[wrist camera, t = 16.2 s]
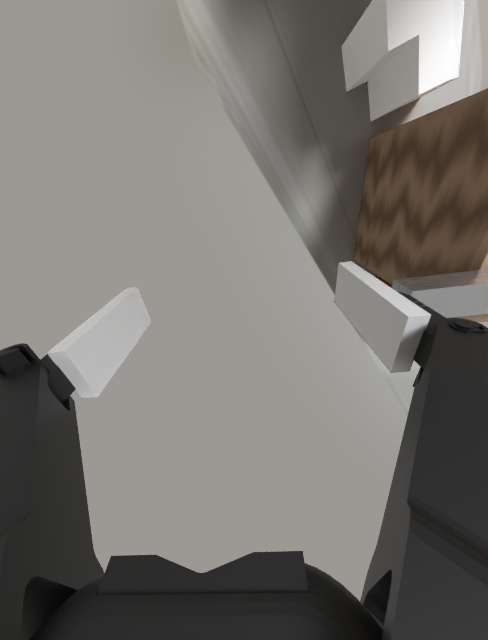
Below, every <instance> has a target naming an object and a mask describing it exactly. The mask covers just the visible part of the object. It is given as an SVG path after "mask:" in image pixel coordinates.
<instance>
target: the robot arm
mask: <svg viewBox="0 0 488 640" xmlns="http://www.w3.org/2000/svg"><path fill="white" fill-rule="evenodd" d="M334 302H335V303H336V305H337V306H338V307H339V309H340V310H341V311H342V312H343V314H344V315H345V316H346V317H347V319H348V320H349V321H350V322H351V324H352V325H353V326H354V327H355V329H356V330H357V331H358V333H359V334H360V335H361V336H362V338H363V339H364V340H365V341H366V343H367V344H368V345H369V346H370V348H371V349H372V350H373V351H374V353H375V354H376V355H377V356H378V358H379V359H380V360H381V361H382V363H383V364H384V365H385V366H386V368H387V369H388V370H389V371H390V373H393V372H405V371H410V369H411V366H412V363H413V361H414V360H415V361H416V362H417V363H418V364H419V365H420V366H421V367H420V370H419V372H418V375H417V377H416V379H415V382H414V384H413V387H415V388H414V392H413V396H412V401H411V405H410V409H409V413H408V417H407V422H406V426H405V430H404V435H403V438H402V443H401V447H400V451H399V455H398V459H397V463H396V467H395V472H394V476H393V480H392V484H391V488H390V492H389V497H388V501H387V505H386V509H385V513H384V518H383V522H382V526H381V530H380V534H379V539H378V543H377V546H376V549H375V552H374V555H373V558H372V560H371V563H370V566H369V570H368V573H367V577H366V581H365V585H364V589H363V592H362V597H361V601H359V600H358V599H357V598H356V597H355V596H354V595H353V594H352V593H351V592H349V591H348V590H347V589H346V588H345V587H344V586H343V585H342V584H341V583H339V582H338V581H336V580H335V579H334V578H332V577H331V576H330V575H328V574H326V573H325V572H323V571H321V570H319V569H318V568H316V567H313V566H311V565H308V564H305V563H304V557H303V552H302V551H291V552H290V551H288V552H253V553H251V554H248V555H246V556H244V557H241V558H239V559H237V560H234V561H232V562H229V563H227V564H225V565H223V566H220V567H218V568H215V569H213V570H210V571H208V572H206V573H197V572H195V571H192V570H190V569H188V568H185V567H183V566H181V565H178V564H176V563H174V562H171V561H169V560H166V559H164V558H162V557H160V556H157V555H132V556H111V558H110V561H109V563H108V566H107V569H106V572H105V573H104V571H103V569H102V567H101V565H100V563H99V562H98V560H97V558H96V556H95V553H94V549H93V544H92V535H91V527H90V520H89V512H88V504H87V496H86V488H85V481H84V473H83V465H82V458H81V449H80V442H79V434H78V426H77V418H76V411H75V403H74V400H73V399H72V398H71V396H70V395H71V394H72V392H73V391H74V390H75V389H76V391H77V392H78V393H79V394H80V396H81V397H82V398H88V397H98V396H99V394H100V393H101V391H102V390H103V389H104V387H105V386H106V384H107V383H108V382H109V380H110V379H111V377H112V376H113V375H114V373H115V372H116V371H117V369H118V368H119V366H120V365H121V364H122V362H123V361H124V360H125V358H126V357H127V355H128V354H129V353H130V351H131V350H132V348H133V347H134V346H135V344H136V343H137V341H138V340H139V339H140V337H141V336H142V334H143V333H144V332H145V330H146V329H147V327H148V326H149V325H150V323H151V319H150V316H149V314H148V312H147V309H146V307H145V304H144V302H143V300H142V297H141V295H140V293H139V290H138V288H137V287H132V288H126V289H125V290H123V291H122V292H121V293H120V294H118V295H117V296H116V297H115V298H114V299H112V300H111V301H110V302H109V303H107V304H106V305H105V306H104V307H103V308H101V309H100V310H99V311H98V312H96V313H95V314H94V315H93V316H91V317H90V318H89V319H88V320H87V321H85V322H84V323H83V324H82V325H80V326H79V327H78V328H77V329H76V330H74V331H73V332H72V333H71V334H70V335H68V336H67V337H66V338H64V339H63V340H62V341H61V342H60V343H58V344H57V345H56V346H55V347H53V348H52V349H51V350H50V351H49V352H47V355H46V356H45V357H43V358H42V359H41V360H40V359H39V358H38V357H37V355H36V354H35V353H34V352H33V351H32V350H31V348H30V347H29V346H28V345H27V344H18V345H14V346H11V347H8V348H5V349H3V350H0V640H488V328H487V327H485V326H484V325H482V324H480V323H477V322H475V321H471V320H467V319H462V318H445V317H444V316H442V315H441V314H439V313H438V312H436V311H434V310H433V309H431V308H430V307H428V306H425V304H423V303H422V302H419V300H417V299H415V298H414V297H412V296H411V295H408V294H405V293H402V292H397V291H395V290H394V289H392V288H391V287H389V286H388V285H386V284H385V283H383V282H382V281H380V280H379V279H377V278H376V277H374V276H373V275H371V274H370V273H368V272H367V271H365V270H364V269H362V268H361V267H359V266H358V265H356V264H355V263H353V262H352V261H349V262H341V263H338V273H337V282H336V291H335V300H334Z"/></svg>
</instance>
